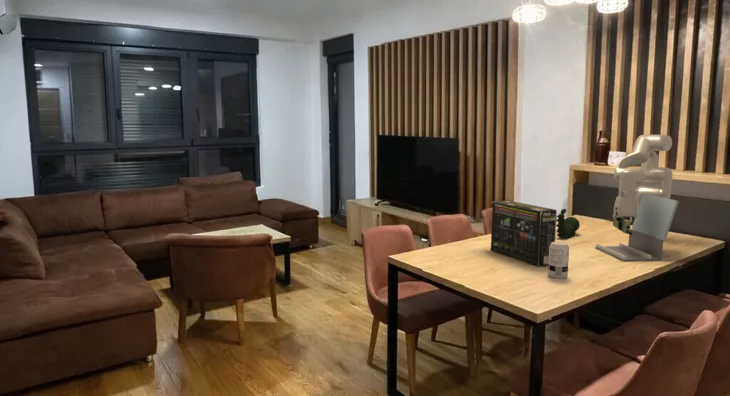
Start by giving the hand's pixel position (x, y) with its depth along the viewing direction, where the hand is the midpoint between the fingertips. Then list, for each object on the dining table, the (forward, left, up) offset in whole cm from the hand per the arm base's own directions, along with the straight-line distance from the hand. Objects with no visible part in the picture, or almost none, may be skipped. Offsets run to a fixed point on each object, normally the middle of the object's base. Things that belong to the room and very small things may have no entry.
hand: (624, 229), depth 261 cm
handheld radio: (+1, 0, -1) cm, 1 cm away
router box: (+54, 0, -13) cm, 56 cm away
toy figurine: (+9, -42, -13) cm, 45 cm away
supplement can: (+50, +33, -13) cm, 61 cm away
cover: (-15, 0, +7) cm, 17 cm away
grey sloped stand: (-2, 0, -13) cm, 13 cm away
